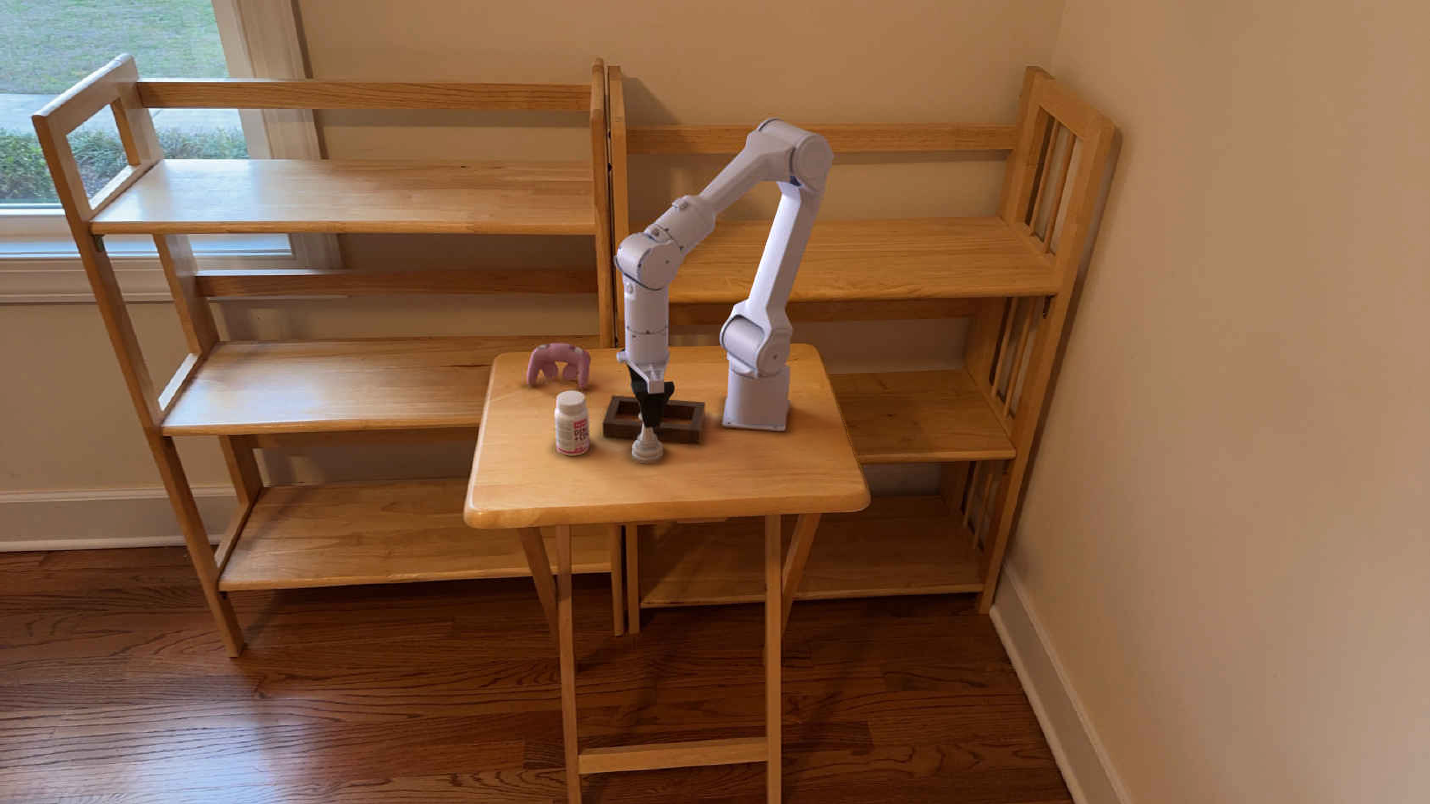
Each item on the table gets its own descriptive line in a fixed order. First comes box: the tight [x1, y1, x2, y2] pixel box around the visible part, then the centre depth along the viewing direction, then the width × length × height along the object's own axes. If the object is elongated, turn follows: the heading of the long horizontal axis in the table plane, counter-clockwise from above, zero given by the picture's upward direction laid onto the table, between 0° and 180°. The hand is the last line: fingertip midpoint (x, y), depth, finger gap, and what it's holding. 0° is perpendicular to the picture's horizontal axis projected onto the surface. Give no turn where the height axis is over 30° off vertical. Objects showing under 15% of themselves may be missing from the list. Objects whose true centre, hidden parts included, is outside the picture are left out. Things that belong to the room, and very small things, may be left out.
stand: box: [602, 395, 706, 445], centre depth 142 cm, size 14×8×2 cm, turn 85°
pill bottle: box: [554, 390, 590, 457], centre depth 136 cm, size 5×5×8 cm
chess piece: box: [631, 412, 664, 464], centre depth 134 cm, size 4×4×10 cm
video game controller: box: [526, 342, 592, 391], centre depth 152 cm, size 10×5×7 cm, turn 84°
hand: (647, 411), depth 133 cm, fingers open, 7 cm apart
